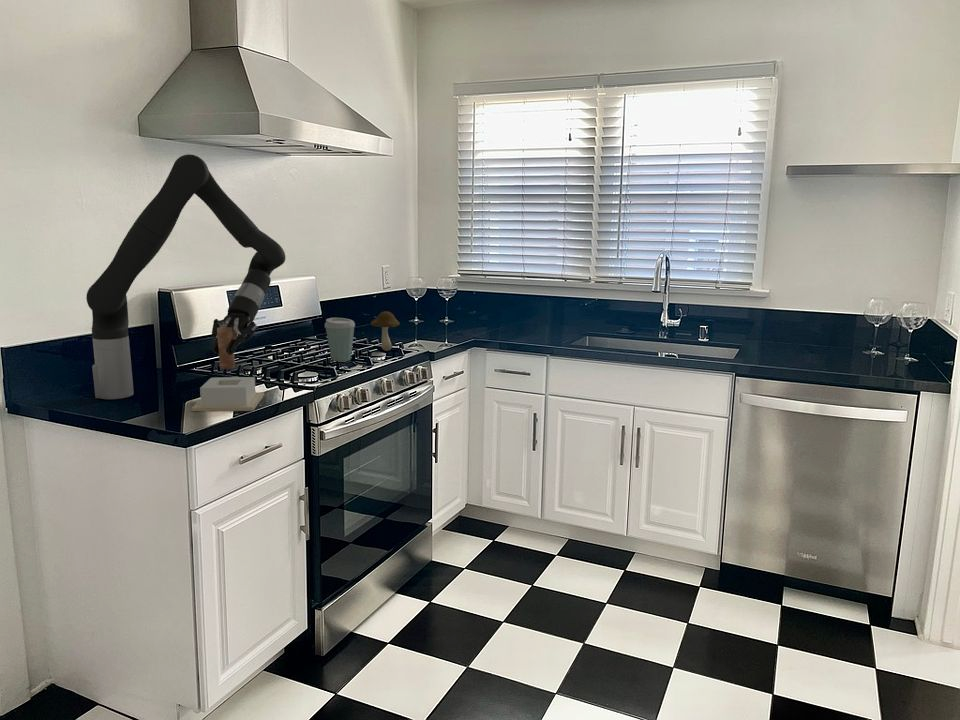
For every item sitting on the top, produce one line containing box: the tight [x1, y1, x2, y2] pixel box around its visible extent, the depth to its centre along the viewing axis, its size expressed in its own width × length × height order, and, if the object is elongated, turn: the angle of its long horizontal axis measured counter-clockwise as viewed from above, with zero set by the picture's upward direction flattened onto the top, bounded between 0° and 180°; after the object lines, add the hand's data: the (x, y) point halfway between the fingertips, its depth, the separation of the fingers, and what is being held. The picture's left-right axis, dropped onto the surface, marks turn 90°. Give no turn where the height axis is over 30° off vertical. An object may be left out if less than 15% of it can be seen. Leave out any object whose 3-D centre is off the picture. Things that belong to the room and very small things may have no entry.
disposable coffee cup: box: [324, 317, 356, 363], centre depth 263 cm, size 11×11×15 cm
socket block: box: [191, 376, 265, 412], centre depth 209 cm, size 16×16×6 cm
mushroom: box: [370, 310, 401, 352], centre depth 282 cm, size 9×11×15 cm
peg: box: [217, 327, 236, 370], centre depth 206 cm, size 4×4×11 cm
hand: (221, 352), depth 205 cm, fingers closed on peg, 4 cm apart
